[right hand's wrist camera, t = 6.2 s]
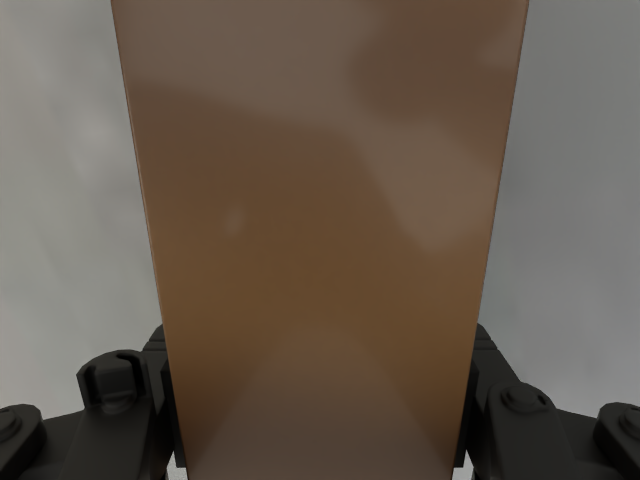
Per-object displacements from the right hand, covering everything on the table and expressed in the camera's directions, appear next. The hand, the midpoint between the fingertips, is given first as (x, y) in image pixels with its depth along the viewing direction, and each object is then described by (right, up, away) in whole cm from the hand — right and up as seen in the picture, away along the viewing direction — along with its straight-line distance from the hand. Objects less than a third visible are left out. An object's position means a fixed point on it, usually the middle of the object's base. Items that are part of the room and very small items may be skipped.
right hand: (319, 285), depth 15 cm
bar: (0, +18, -6) cm, 19 cm away
